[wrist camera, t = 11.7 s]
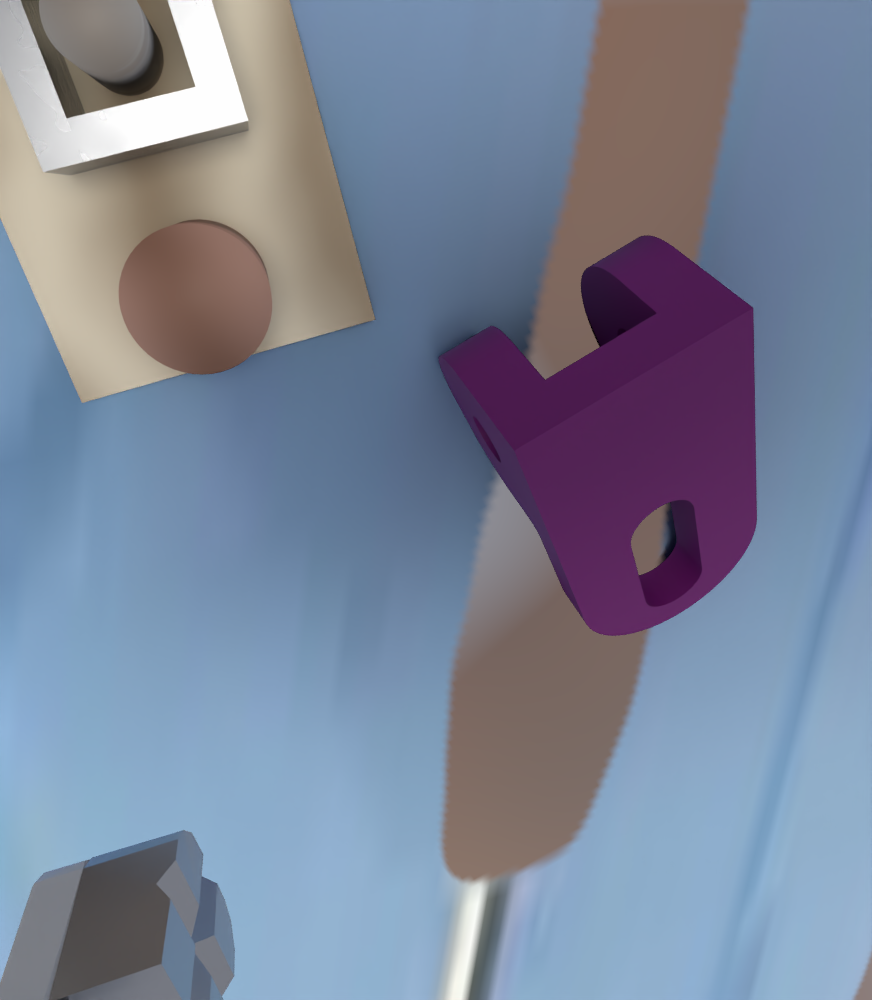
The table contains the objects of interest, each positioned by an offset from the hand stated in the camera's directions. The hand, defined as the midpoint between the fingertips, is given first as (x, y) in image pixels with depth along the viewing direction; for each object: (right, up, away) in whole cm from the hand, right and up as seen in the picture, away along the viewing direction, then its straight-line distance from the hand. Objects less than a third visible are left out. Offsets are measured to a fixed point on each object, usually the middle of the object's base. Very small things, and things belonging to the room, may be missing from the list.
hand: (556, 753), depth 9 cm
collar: (-12, +18, +18) cm, 28 cm away
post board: (-11, +15, +21) cm, 28 cm away
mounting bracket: (+6, +5, +29) cm, 30 cm away
